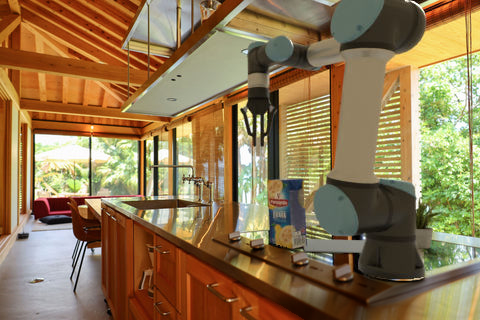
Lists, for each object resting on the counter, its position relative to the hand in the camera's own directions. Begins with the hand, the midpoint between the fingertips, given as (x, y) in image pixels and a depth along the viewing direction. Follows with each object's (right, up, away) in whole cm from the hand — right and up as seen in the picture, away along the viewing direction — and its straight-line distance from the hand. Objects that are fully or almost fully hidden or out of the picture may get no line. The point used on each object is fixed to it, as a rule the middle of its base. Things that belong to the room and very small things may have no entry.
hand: (258, 156), depth 116 cm
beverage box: (+10, -30, -2) cm, 32 cm away
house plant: (+53, -30, -5) cm, 61 cm away
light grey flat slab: (+26, -30, -4) cm, 40 cm away
